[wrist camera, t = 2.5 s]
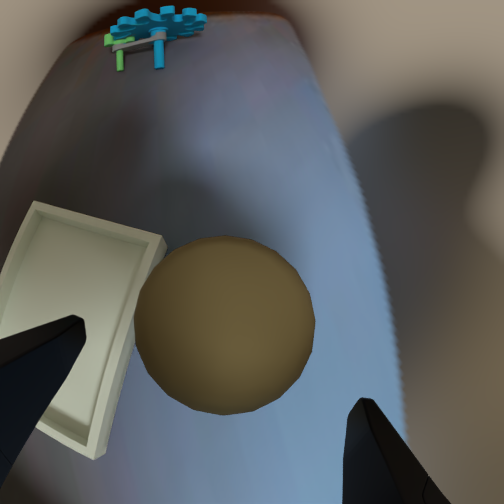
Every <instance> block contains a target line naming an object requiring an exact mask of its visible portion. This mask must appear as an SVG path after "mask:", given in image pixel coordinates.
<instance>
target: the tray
mask: <svg viewBox="0 0 504 504" xmlns="http://www.w3.org/2000/svg"><path fill="white" fill-rule="evenodd" d="M167 248H168V247H167V245H166V243H165V241H164V239H163V236H162V235H158V234H155V233H151V232H147V231H144V230H140V229H136V228H132V227H129V226H125V225H121V224H118V223H114V222H110V221H106V220H103V219H99V218H95V217H92V216H88V215H84V214H81V213H77V212H73V211H70V210H66V209H62V208H59V207H55V206H52V205H48V204H44V203H41V202H37V201H33V203H32V205H31V207H30V209H29V211H28V213H27V215H26V217H25V219H24V221H23V223H22V225H21V227H20V229H19V231H18V233H17V236H16V238H15V240H14V242H13V244H12V247H11V249H10V251H9V254H8V256H7V259H6V261H5V264H4V266H3V269H2V271H1V274H0V339H2V338H5V337H8V336H11V335H14V334H17V333H19V332H22V331H25V330H28V329H31V328H34V327H37V326H40V325H43V324H46V323H49V322H51V321H54V320H57V319H60V318H63V317H66V316H69V315H72V314H74V315H77V316H79V317H81V318H83V319H84V321H85V328H86V336H87V338H86V343H85V345H84V347H83V349H82V350H81V352H80V354H79V356H78V358H77V360H76V362H75V363H74V365H73V367H72V369H71V371H70V373H69V375H68V377H67V378H66V380H65V381H64V383H63V384H62V386H61V387H60V389H59V390H58V392H57V393H56V395H55V396H54V398H53V400H52V401H51V403H50V404H49V406H48V407H47V409H46V410H45V412H44V414H43V415H42V417H41V418H40V420H39V422H38V423H37V425H36V426H35V427H36V428H38V429H39V430H41V431H43V432H44V433H46V434H47V435H49V436H51V437H52V438H54V439H56V440H57V441H59V442H61V443H63V444H64V445H66V446H68V447H70V448H71V449H73V450H75V451H77V452H79V453H81V454H83V455H85V456H87V457H89V458H91V459H93V460H95V459H97V458H98V457H100V456H102V455H104V454H105V453H106V449H107V444H108V440H109V436H110V431H111V427H112V423H113V419H114V415H115V411H116V407H117V403H118V400H119V396H120V392H121V388H122V385H123V381H124V378H125V374H126V371H127V367H128V364H129V360H130V357H131V354H132V350H133V347H134V344H135V331H134V318H133V317H134V313H135V308H136V304H137V300H138V296H139V292H140V289H141V288H142V286H143V284H144V283H145V281H146V280H147V278H148V276H149V275H150V273H151V271H152V270H153V268H154V267H155V266H156V265H157V264H158V263H160V262H161V261H162V260H163V259H164V256H165V253H166V251H167Z"/></svg>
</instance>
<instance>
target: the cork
mask: <svg viewBox="0 0 504 504" xmlns="http://www.w3.org/2000/svg"><path fill="white" fill-rule="evenodd" d="M133 318H134V331H135V342H136V347H137V349H138V352H139V354H140V356H141V359H142V361H143V363H144V365H145V368H146V370H147V372H148V374H149V375H150V376H151V377H152V378H153V379H154V381H155V382H156V383H157V384H158V385H159V386H160V387H161V388H162V389H163V390H164V392H165V393H166V394H167V395H168V396H170V397H172V398H173V399H175V400H177V401H179V402H180V403H182V404H184V405H186V406H188V407H189V408H191V409H193V410H197V411H202V412H207V413H212V414H218V415H231V414H238V413H245V412H252V411H255V410H257V409H259V408H261V407H263V406H265V405H267V404H269V403H271V402H273V401H275V400H276V399H278V398H280V397H281V396H282V395H283V394H284V393H285V392H286V391H287V390H288V389H289V388H290V387H291V386H292V385H293V384H294V383H295V382H296V381H297V379H298V378H299V377H300V376H301V373H302V371H303V369H304V367H305V365H306V363H307V361H308V359H309V357H310V355H311V352H312V347H313V338H314V330H315V316H314V311H313V307H312V302H311V297H310V293H309V291H308V290H307V288H306V286H305V284H304V283H303V281H302V279H301V277H300V276H299V274H298V272H297V270H296V269H295V268H294V267H293V266H291V265H290V264H289V263H288V262H287V261H286V260H285V259H284V258H283V257H282V256H281V255H280V254H278V253H277V252H276V251H274V250H272V249H270V248H268V247H266V246H264V245H262V244H260V243H258V242H256V241H254V240H251V239H245V238H239V237H233V236H226V235H224V236H216V237H208V238H201V239H197V240H195V241H193V242H190V243H188V244H186V245H184V246H181V247H179V248H177V249H175V250H173V251H172V252H171V253H170V254H169V255H168V256H166V257H165V258H164V259H163V260H162V261H161V262H160V263H158V264H157V265H156V266H155V267H154V268H153V270H152V271H151V273H150V275H149V276H148V278H147V280H146V281H145V283H144V284H143V286H142V288H141V289H140V292H139V296H138V300H137V304H136V308H135V313H134V317H133Z"/></svg>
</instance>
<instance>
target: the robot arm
mask: <svg viewBox="0 0 504 504" xmlns="http://www.w3.org/2000/svg"><path fill="white" fill-rule="evenodd" d="M86 338H87V336H86V328H85V321H84V319H83V318H81V317H79V316H77V315H74V314H72V315H69V316H66V317H63V318H60V319H57V320H54V321H51V322H49V323H46V324H43V325H40V326H37V327H34V328H31V329H28V330H25V331H22V332H19V333H17V334H14V335H11V336H8V337H5V338H2V339H0V488H1V486H2V484H3V482H4V480H5V478H6V477H7V475H8V473H9V471H10V469H11V468H12V465H13V464H14V462H15V460H16V458H17V457H18V455H19V453H20V451H21V450H22V448H23V446H24V445H25V443H26V441H27V440H28V438H29V436H30V435H31V433H32V431H33V430H34V428H35V426H36V425H37V423H38V422H39V420H40V418H41V417H42V415H43V414H44V412H45V410H46V409H47V407H48V406H49V404H50V403H51V401H52V400H53V398H54V396H55V395H56V393H57V392H58V390H59V389H60V387H61V386H62V384H63V383H64V381H65V380H66V378H67V377H68V375H69V373H70V371H71V369H72V367H73V365H74V363H75V362H76V360H77V358H78V356H79V354H80V352H81V350H82V349H83V347H84V345H85V343H86ZM342 504H451V503H450V502H449V501H448V499H447V498H446V497H445V496H444V495H443V494H442V492H441V491H440V490H439V488H438V487H437V486H436V484H435V483H434V482H433V481H432V479H431V478H430V476H428V474H427V472H426V471H425V469H424V468H423V467H422V465H421V464H420V463H419V461H418V460H417V458H416V457H415V456H414V454H413V453H412V452H411V450H410V449H409V447H408V446H407V445H406V443H405V442H404V441H403V439H402V438H401V437H400V435H399V434H398V432H397V431H396V430H395V428H394V427H393V426H392V424H391V423H390V422H389V420H388V419H387V417H386V416H385V415H384V413H383V412H382V411H381V409H380V408H379V407H378V405H377V404H376V403H375V401H374V400H373V399H370V398H363V397H362V398H360V399H359V400H358V401H357V402H356V404H355V405H354V407H353V408H352V410H351V411H350V413H349V415H348V418H347V428H346V438H345V447H344V456H343V497H342Z"/></svg>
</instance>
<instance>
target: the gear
mask: <svg viewBox="0 0 504 504" xmlns="http://www.w3.org/2000/svg"><path fill="white" fill-rule="evenodd" d="M174 12H175V11H174V6H165V7H161V8H160V14H154V13H151V12H149V10H148V9H142V10H139V11H137V12H135V18H130V17H120V19H119V20H118V25H116V26H111V27H110V34H106V35H105V36H104V47H111V46H112V53H116V56H117V72H119V71H123V70H124V66H123V52H126V51H130V50H134V49H138V48H142V47H146V46H151V45H154V66H155V69H163V68H165V66H164V42H166V41H172V40H176V39H177V35H180V36H184V37H189V36H192V35H193V34H194V31H202V30H204V24H205V23H207V17H206V15H204V14H196V9H193V8H185V9H183V10H182V14H181V15H175V13H174ZM140 38H145V39H142V40H139V39H140Z"/></svg>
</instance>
